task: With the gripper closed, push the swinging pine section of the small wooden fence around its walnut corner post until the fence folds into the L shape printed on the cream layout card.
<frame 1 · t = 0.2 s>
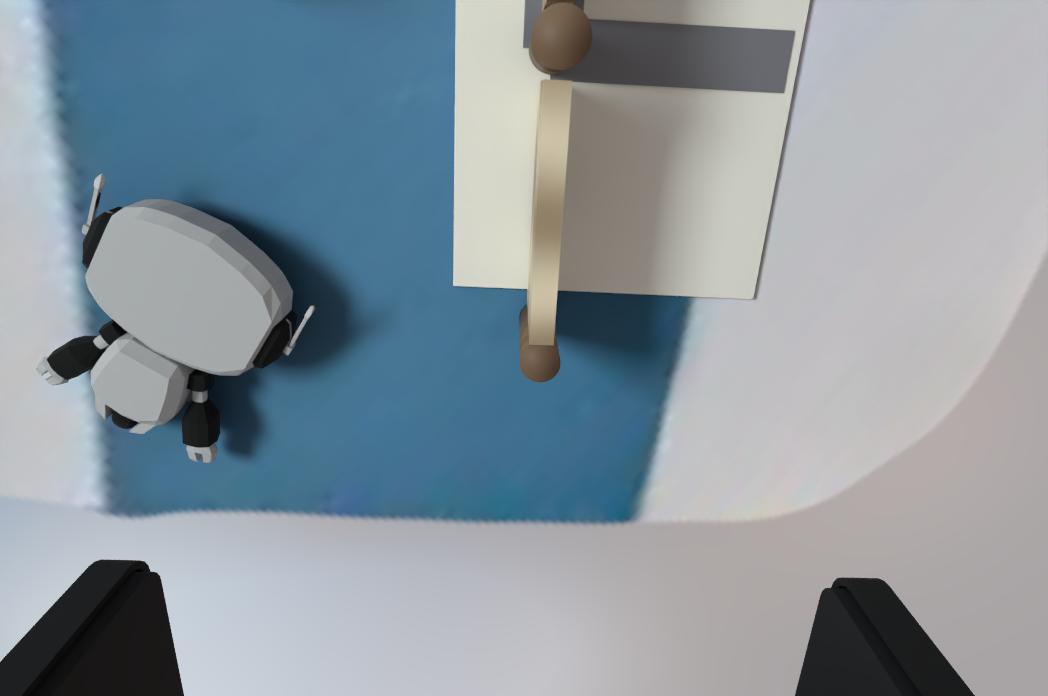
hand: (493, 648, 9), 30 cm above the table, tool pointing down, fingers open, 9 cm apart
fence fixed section: (551, 49, 34), resting on layout card
robot toy: (193, 317, 39), on the table
fence swing section: (544, 229, 33), point 4 cm above the table, hinge at 0.0°
layout card: (629, 32, 33), on the table
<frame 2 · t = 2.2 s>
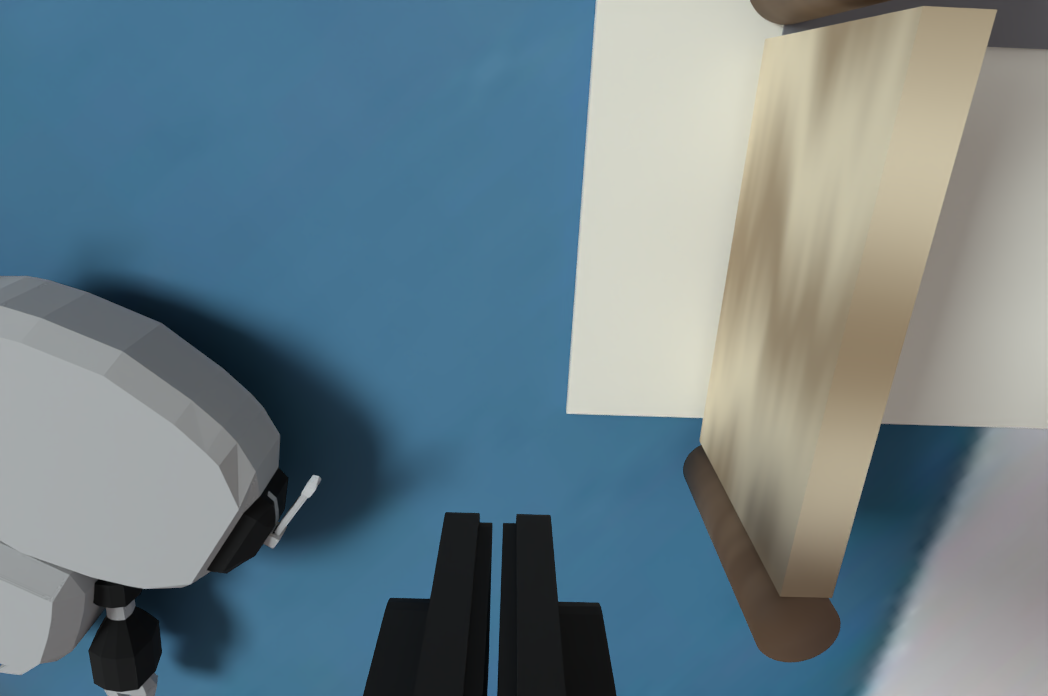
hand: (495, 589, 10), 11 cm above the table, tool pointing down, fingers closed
robot toy: (110, 464, 23), on the table
fence swing section: (788, 338, 16), point 4 cm above the table, hinge at 0.0°
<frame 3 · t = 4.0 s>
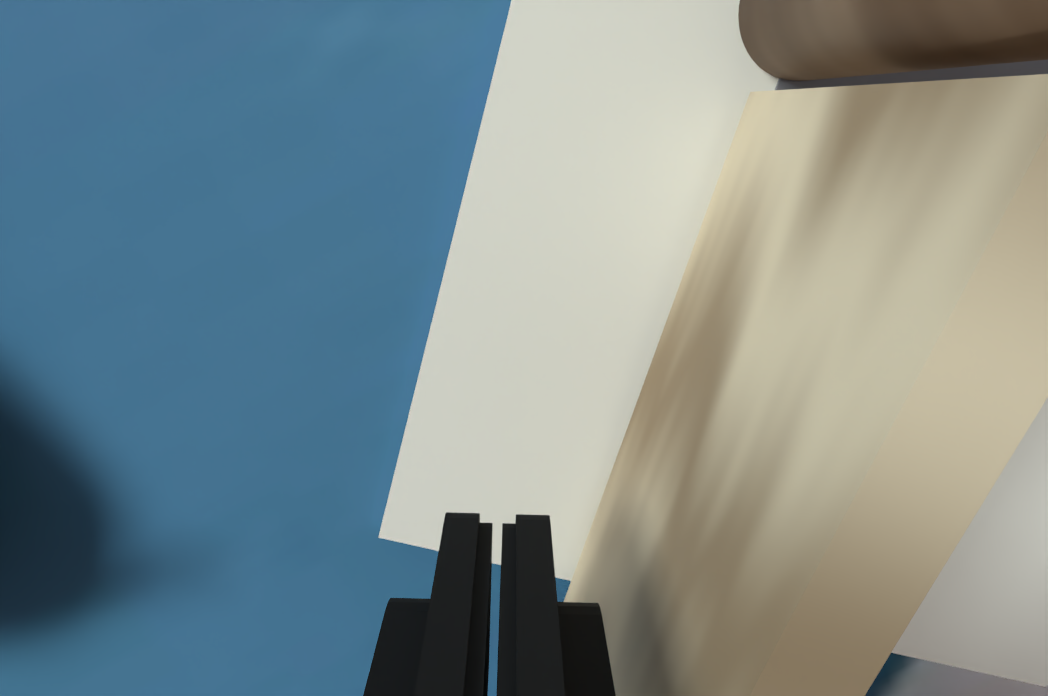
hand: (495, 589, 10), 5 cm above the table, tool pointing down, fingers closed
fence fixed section: (799, 9, 11), resting on layout card
fence swing section: (694, 546, 10), point 4 cm above the table, hinge at 0.9°, touching gripper
layout card: (1025, 18, 12), on the table
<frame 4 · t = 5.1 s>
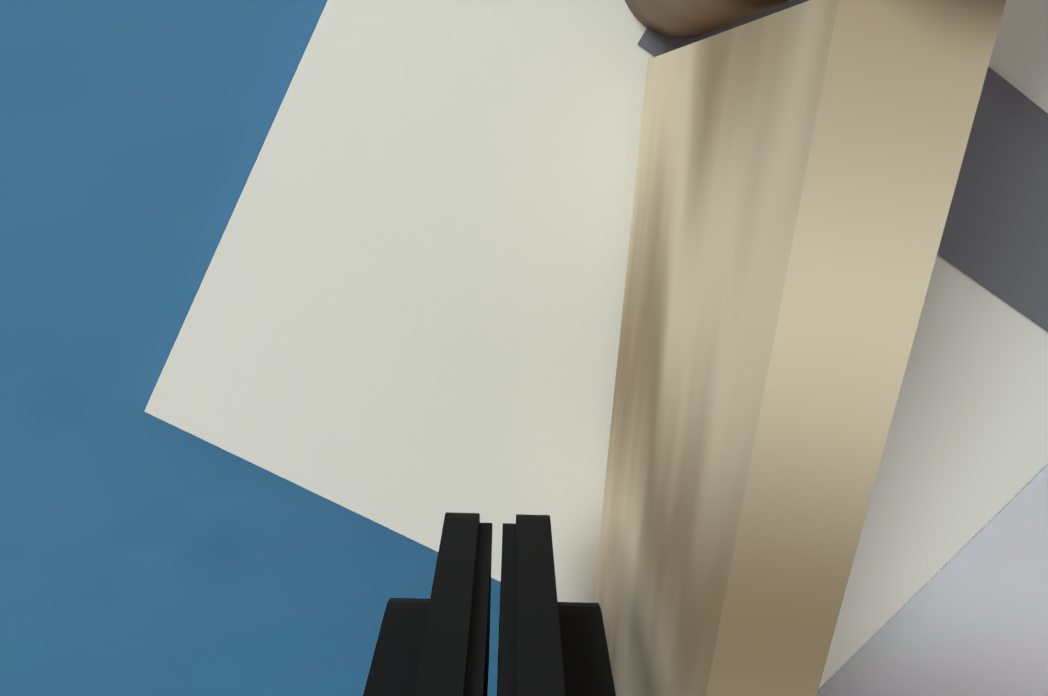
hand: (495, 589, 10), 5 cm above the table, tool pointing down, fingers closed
fence swing section: (679, 522, 10), point 4 cm above the table, hinge at 28.9°, touching gripper
layout card: (890, 42, 12), on the table
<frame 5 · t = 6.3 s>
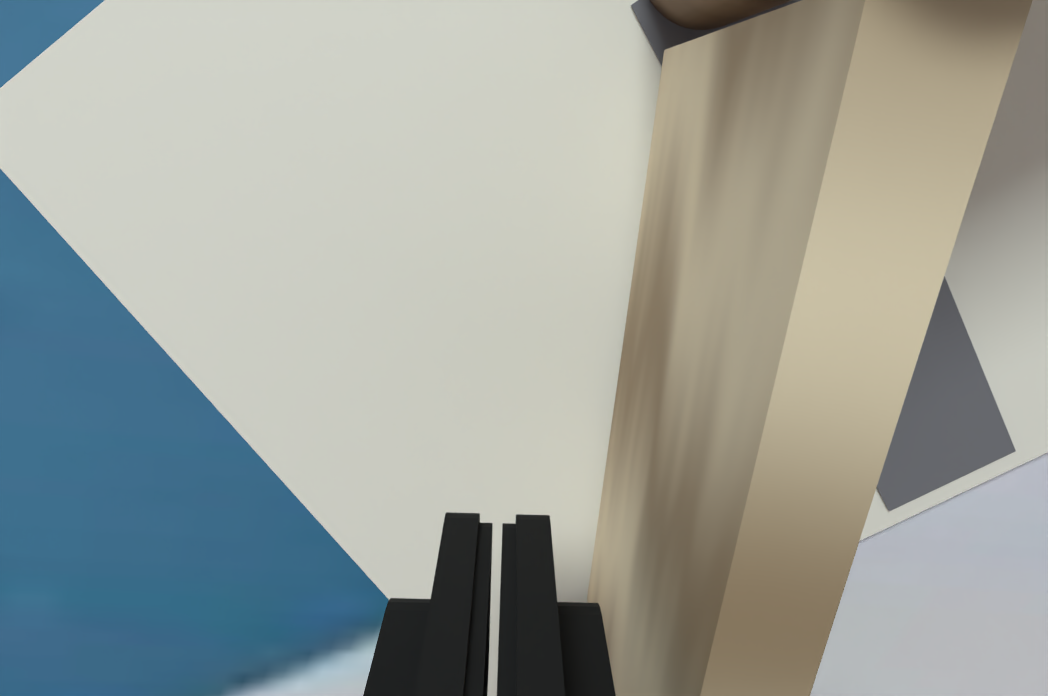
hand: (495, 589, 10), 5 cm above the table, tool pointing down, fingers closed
fence swing section: (679, 512, 10), point 4 cm above the table, hinge at 53.3°, touching gripper
layout card: (842, 127, 12), on the table
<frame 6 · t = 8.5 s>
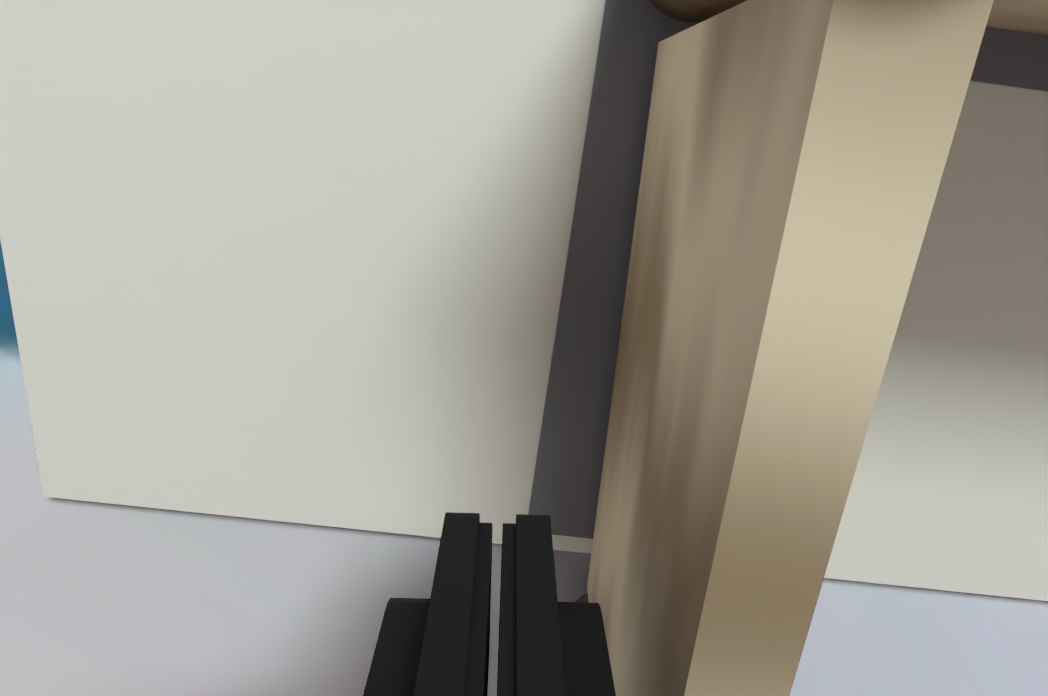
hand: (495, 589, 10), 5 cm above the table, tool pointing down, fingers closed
fence swing section: (674, 496, 10), point 4 cm above the table, hinge at 93.1°, touching gripper
layout card: (701, 184, 13), on the table
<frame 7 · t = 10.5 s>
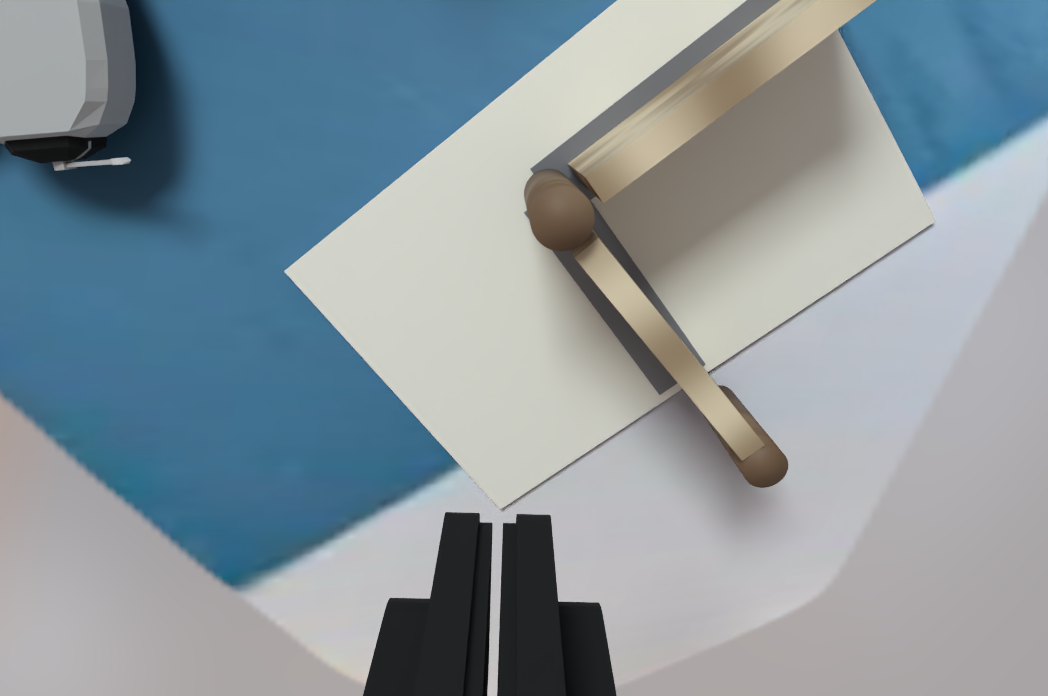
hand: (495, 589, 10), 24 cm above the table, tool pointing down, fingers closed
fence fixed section: (547, 193, 32), resting on layout card
fence swing section: (668, 345, 30), point 4 cm above the table, hinge at 93.2°
layout card: (609, 244, 33), on the table
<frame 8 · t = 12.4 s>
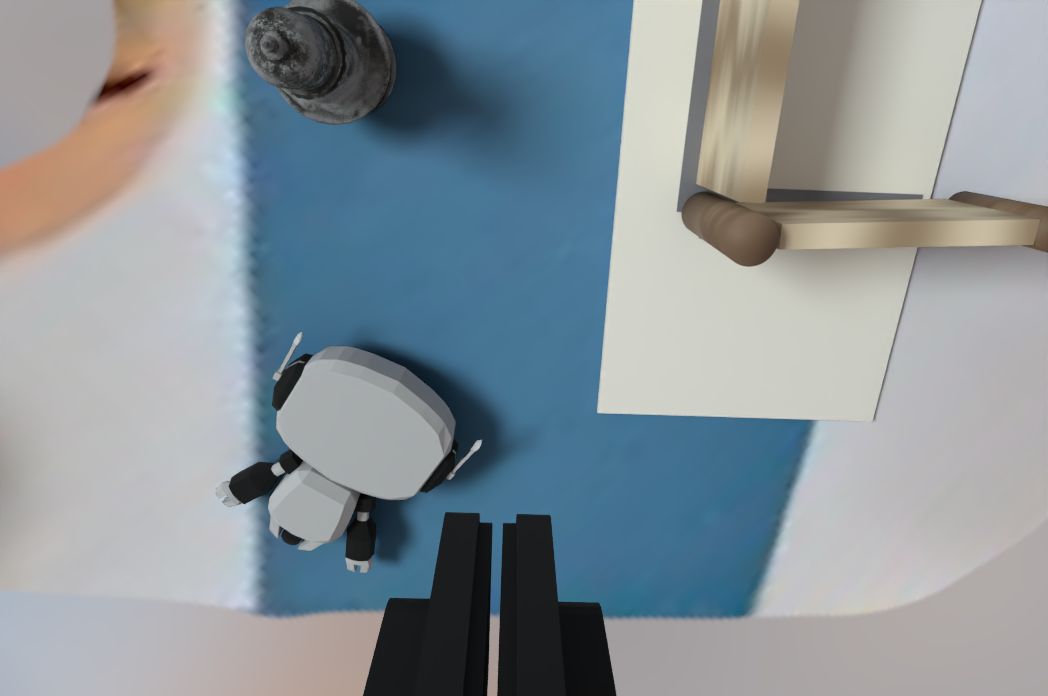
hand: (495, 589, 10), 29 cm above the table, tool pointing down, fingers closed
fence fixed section: (700, 211, 37), resting on layout card
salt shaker: (347, 64, 34), on the table
robot toy: (352, 440, 43), on the table
fence swing section: (889, 221, 33), point 4 cm above the table, hinge at 93.2°
layout card: (772, 196, 37), on the table
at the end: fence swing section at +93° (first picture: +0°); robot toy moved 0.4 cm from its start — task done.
